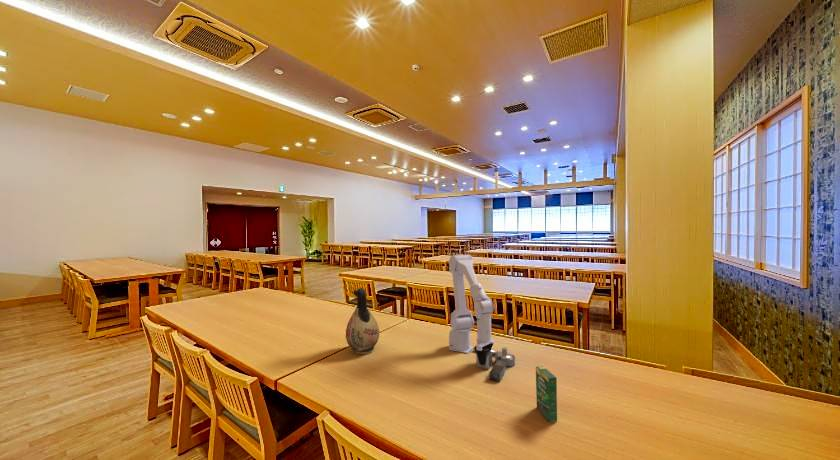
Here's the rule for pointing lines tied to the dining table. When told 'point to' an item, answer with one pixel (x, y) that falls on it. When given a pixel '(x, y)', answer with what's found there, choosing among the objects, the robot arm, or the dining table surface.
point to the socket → (488, 361)
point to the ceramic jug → (362, 327)
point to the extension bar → (492, 352)
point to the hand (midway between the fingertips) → (484, 361)
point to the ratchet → (501, 364)
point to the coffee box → (546, 393)
